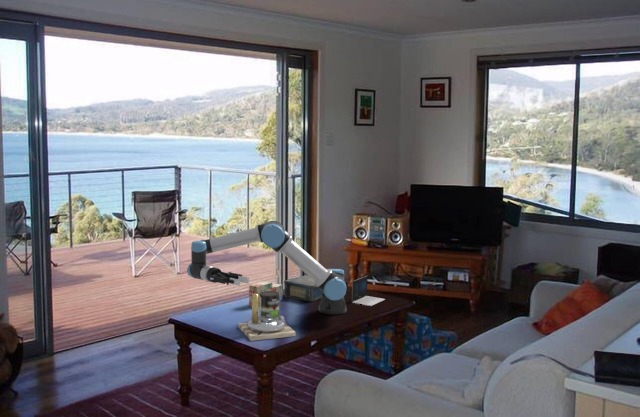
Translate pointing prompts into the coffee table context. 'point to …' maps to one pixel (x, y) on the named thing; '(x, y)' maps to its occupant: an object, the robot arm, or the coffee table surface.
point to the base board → (261, 336)
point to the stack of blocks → (264, 287)
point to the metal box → (302, 289)
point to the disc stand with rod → (264, 320)
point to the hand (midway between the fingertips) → (243, 281)
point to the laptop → (362, 293)
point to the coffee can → (269, 303)
